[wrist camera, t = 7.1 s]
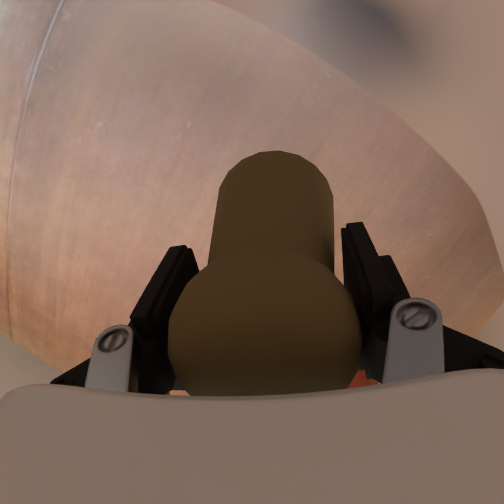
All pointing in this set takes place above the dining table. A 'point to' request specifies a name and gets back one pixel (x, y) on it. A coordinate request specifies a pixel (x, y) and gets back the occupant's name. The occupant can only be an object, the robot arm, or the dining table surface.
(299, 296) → the olive pawn
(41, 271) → the dining table surface
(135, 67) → the dining table surface
